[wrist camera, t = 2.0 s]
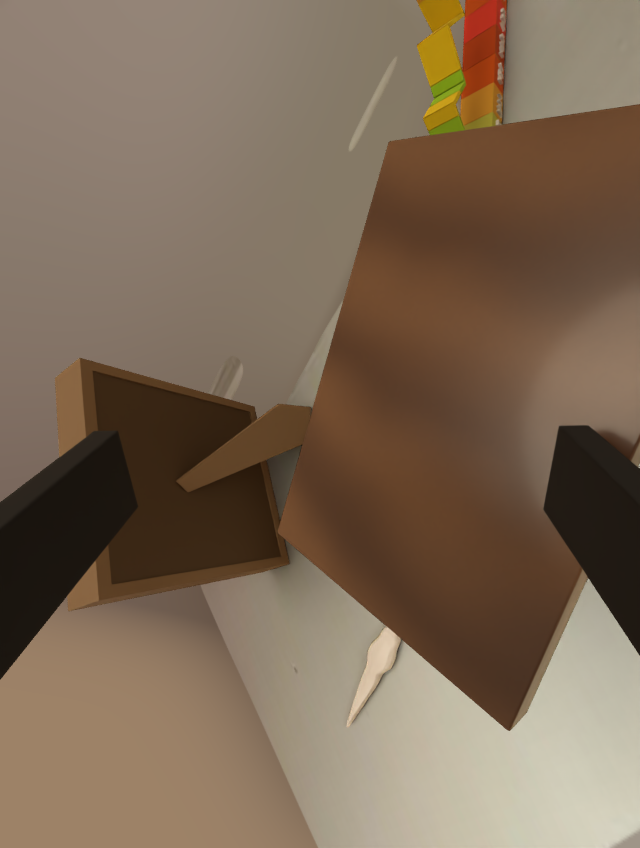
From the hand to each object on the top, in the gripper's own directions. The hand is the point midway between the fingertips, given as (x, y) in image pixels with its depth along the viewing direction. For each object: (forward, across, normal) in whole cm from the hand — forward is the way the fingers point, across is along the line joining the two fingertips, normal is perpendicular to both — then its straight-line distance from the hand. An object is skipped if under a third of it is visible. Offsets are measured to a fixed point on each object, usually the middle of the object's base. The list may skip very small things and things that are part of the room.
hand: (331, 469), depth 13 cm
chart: (+38, +13, +18) cm, 44 cm away
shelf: (+19, +18, -7) cm, 27 cm away
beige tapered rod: (+19, +2, -34) cm, 39 cm away
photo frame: (+36, -9, -22) cm, 43 cm away
